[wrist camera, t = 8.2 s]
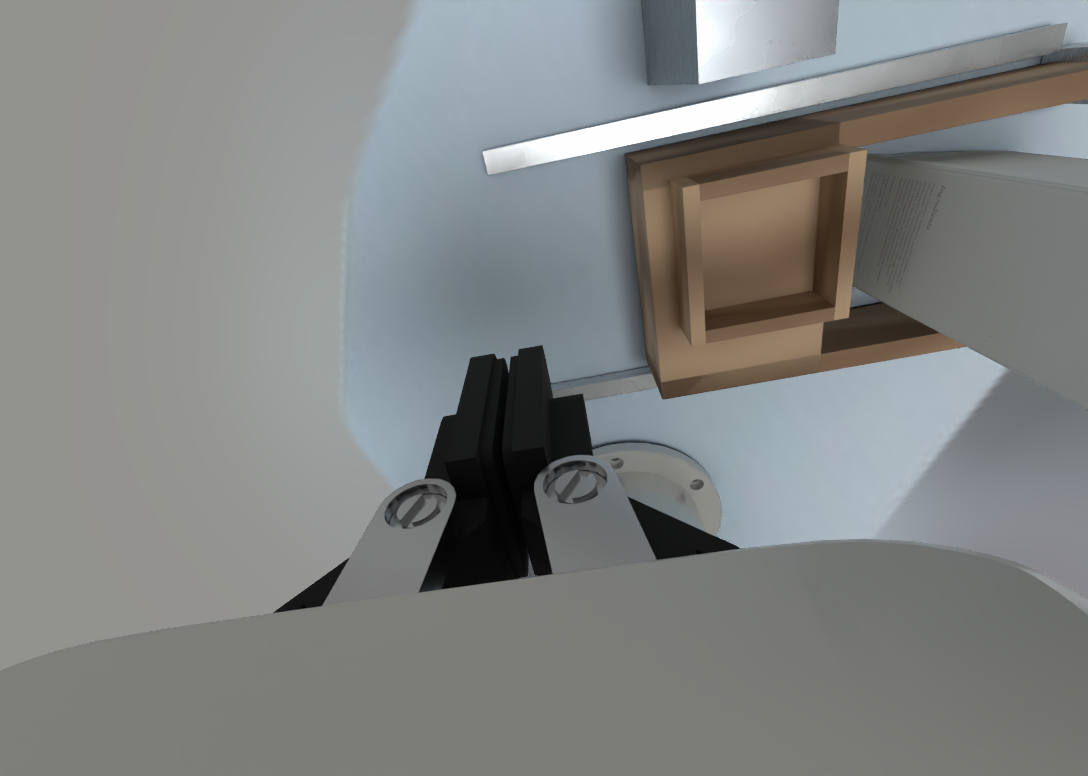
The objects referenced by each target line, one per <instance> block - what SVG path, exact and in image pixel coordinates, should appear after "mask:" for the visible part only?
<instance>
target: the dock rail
mask: <svg viewBox="0 0 1088 776" xmlns="http://www.w3.org/2000/svg"><path fill="white" fill-rule="evenodd" d="M1066 27H1067V23H1062V24H1053V25H1047V26H1043V27H1038V28H1034V29H1029V30H1025V31H1020V32H1016V33H1011V34H1007V35H1002V36H998V37H993V38H989V39H984V40H979V41H975V42H970V43H966V44H961V45H957V46H952V47H948V48H943V49H939V50H934V51H930V52H925V53H921V54H916V55H911V56H907V57H902V58H898V59H893V60H889V61H884V62H880V63H875V64H871V65H866V66H862V67H857V68H853V69H848V70H843V71H839V72H834V73H830V74H825V75H821V76H816V77H812V78H807V79H803V80H798V81H794V82H789V83H785V84H780V85H775V86H771V87H766V88H762V89H757V90H753V91H748V92H744V93H739V94H735V95H730V96H726V97H721V98H717V99H712V100H707V101H703V102H698V103H694V104H689V105H685V106H680V107H676V108H671V109H667V110H662V111H658V112H653V113H649V114H644V115H639V116H635V117H630V118H626V119H621V120H617V121H612V122H608V123H603V124H599V125H594V126H590V127H585V128H581V129H576V130H571V131H567V132H562V133H558V134H553V135H549V136H544V137H540V138H535V139H531V140H526V141H522V142H517V143H513V144H508V145H503V146H499V147H494V148H490V149H485V150H483V156H484V160H485V165H486V169H487V173H488V175H492V174H497V173H501V172H506V171H510V170H515V169H520V168H524V167H529V166H534V165H538V164H543V163H547V162H552V161H557V160H561V159H566V158H571V157H575V156H580V155H584V154H589V153H594V152H598V151H603V150H608V149H612V148H617V147H621V146H626V145H631V144H635V143H640V142H645V141H649V140H654V139H658V138H663V137H668V136H672V135H677V134H682V133H686V132H691V131H695V130H700V129H705V128H709V127H714V126H719V125H723V124H728V123H732V122H737V121H742V120H746V119H751V118H756V117H760V116H765V115H769V114H774V113H779V112H783V111H788V110H793V109H797V108H802V107H806V106H811V105H816V104H820V103H825V102H830V101H834V100H839V99H843V98H848V97H853V96H857V95H862V94H866V93H871V92H876V91H880V90H885V89H890V88H894V87H899V86H903V85H908V84H913V83H917V82H922V81H927V80H931V79H936V78H940V77H945V76H950V75H954V74H959V73H964V72H968V71H973V70H977V69H982V68H987V67H991V66H996V65H1001V64H1005V63H1010V62H1014V61H1019V60H1024V59H1028V58H1033V57H1038V56H1042V55H1043V57H1042V61H1041V64H1044V63H1064V62H1086V61H1088V42H1087V43H1074V44H1070V45H1065V46H1062V43H1063V39H1064V35H1065V31H1066ZM1066 104H1088V99H1085V100H1080V101H1076V102H1071V103H1066ZM551 388H552V393H553V398H558V397H564V396H570V395H576V394H582V393H583V397H584V401H585V400H591V399H597V398H602V397H608V396H614V395H619V394H625V393H631V392H636V391H642V390H648V389H653V388H658V387H657V385H656V382H655V380H654V377H653V375H652V373H651V370H650V368H649V367H644V368H639V369H633V370H628V371H622V372H616V373H611V374H605V375H600V376H594V377H589V378H583V379H578V380H572V381H566V382H561V383H555V384H551Z"/></svg>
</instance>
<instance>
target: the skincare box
mask: <svg viewBox="0 0 1088 776" xmlns="http://www.w3.org/2000/svg"><path fill="white" fill-rule="evenodd" d="M852 286H853V287H855V288H857V289H859V290H861V291H863V292H864V293H866V294H868V295H870V296H872V297H874V298H876V299H878V300H880V301H882V302H884V303H885V304H887V305H889V306H891V307H893V308H894V309H896V310H898V311H900V312H902V313H904V314H906V315H907V316H909V317H911V318H913V319H915V320H917V321H919V322H921V323H923V324H924V325H926V326H928V327H930V328H932V329H934V330H936V331H938V332H940V333H942V334H944V335H945V336H947V337H949V338H951V339H953V340H955V341H957V342H959V343H961V344H963V345H964V346H966V347H968V348H970V349H972V350H974V351H976V352H978V353H980V354H982V355H983V356H985V357H987V358H989V359H991V360H993V361H995V362H997V363H999V364H1001V365H1002V366H1004V367H1006V368H1008V369H1010V370H1012V371H1014V372H1016V373H1018V374H1019V375H1022V376H1023V377H1025V378H1027V379H1029V380H1031V381H1033V382H1035V383H1036V384H1038V385H1040V386H1042V387H1044V388H1046V389H1047V390H1049V391H1051V392H1053V393H1055V394H1057V395H1059V396H1061V397H1062V398H1064V399H1066V400H1068V401H1070V402H1072V403H1074V404H1075V405H1077V406H1080V407H1081V408H1083V409H1085V410H1087V411H1088V159H1081V158H1071V157H1061V156H1052V155H1042V154H1032V153H1023V152H1013V151H953V152H918V153H903V154H893V155H876V154H867V158H866V167H865V176H864V185H863V194H862V203H861V212H860V221H859V230H858V239H857V248H856V257H855V266H854V275H853V284H852Z"/></svg>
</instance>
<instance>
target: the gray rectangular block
mask: <svg viewBox="0 0 1088 776" xmlns="http://www.w3.org/2000/svg"><path fill="white" fill-rule="evenodd" d="M641 4H642V17H643V29H644V41H645V54H646V66H647V78H648V85H679V84H702V83H707V82H711V81H716V80H720V79H725V78H729V77H734V76H738V75H743V74H747V73H752V72H756V71H760V70H765V69H769V68H774V67H778V66H783V65H787V64H792V63H796V62H801V61H805V60H810V59H814V58H819V57H823V56H828V55H832V54H835V47H836V33H837V20H838V7H839V0H641Z"/></svg>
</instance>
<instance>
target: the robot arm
mask: <svg viewBox="0 0 1088 776" xmlns="http://www.w3.org/2000/svg"><path fill="white" fill-rule="evenodd" d="M721 517H722V508H721V502H720V498H719V495H718V493H717V490H716V488H715V486H714V483H713V482H712V480H711V479H710V477H709V476H708V474H707V472H706V471H705V470H704V469H703V468H702V467H701V466H700V465H699V464H698V463H697V462H696V461H694V460H692V459H691V458H689V457H688V456H686V455H684V454H683V453H681V452H678V451H676V450H673V449H670V448H668V447H665V446H660V445H654V444H649V443H620V444H613V445H607V446H603V447H600V448H596V449H593V450H592V444H591V438H590V432H589V426H588V420H587V414H586V408H585V402H584V397H583V393H582V394H576V395H570V396H564V397H558V398H553V393H552V388H551V383H550V378H549V374H548V369H547V364H546V359H545V354H544V350H543V346H542V345H541V346H535V347H529V348H524V349H519V352H518V356H514V357H511V360H510V370H509V372H508V368H507V364H506V361H505V359H504V358H502V359H497V358H496V356H495V354H489V355H484V356H478V357H472V358H471V359H470V362H469V366H468V370H467V374H466V378H465V382H464V386H463V390H462V394H461V398H460V402H459V405H458V409H457V413H456V415H450V416H445V417H443V419H442V421H441V425H440V428H439V431H438V435H437V438H436V442H435V445H434V448H433V452H432V455H431V459H430V462H429V465H428V469H427V472H426V476H425V479H422V480H417V481H414V482H411V483H409V484H406V485H404V486H402V487H400V488H399V489H397V490H395V491H394V492H393V493H392V494H391V495H389V496H388V497H387V498H386V499H385V500H384V501H383V502H382V504H381V505H380V506H379V508H378V510H377V511H376V513H375V515H374V517H373V518H372V520H371V522H370V524H369V525H368V527H367V529H366V530H365V532H364V534H363V536H362V537H361V539H360V541H359V543H358V544H357V546H356V548H355V550H354V551H353V553H352V555H351V557H350V558H348V559H347V560H345V561H344V562H343V563H341V564H340V565H338V566H337V567H336V568H334V569H333V570H332V571H330V572H329V573H327V574H326V575H325V576H323V577H322V578H320V579H319V580H318V581H316V582H315V583H314V584H312V585H311V586H309V587H308V588H307V589H305V590H304V591H303V592H301V593H300V594H298V595H297V596H295V597H294V598H293V599H291V600H290V601H289V602H287V603H286V604H284V605H283V606H282V607H280V608H279V609H277V610H276V611H275V612H274V613H271V614H264V615H257V616H250V617H244V618H237V619H230V620H223V621H216V622H209V623H202V624H195V625H188V626H181V627H174V628H167V629H161V630H156V631H150V632H145V633H139V634H133V635H128V636H123V637H116V638H111V639H106V640H100V641H95V642H90V643H87V644H83V645H78V646H75V647H70V648H66V649H62V650H58V651H54V652H52V653H49V654H45V655H43V656H39V657H36V658H33V659H30V660H27V661H25V662H22V663H19V664H16V665H13V666H11V667H9V668H6V669H4V670H1V671H0V776H1088V599H1087V598H1086V597H1084V596H1082V595H1081V594H1079V593H1077V592H1076V591H1074V590H1072V589H1071V588H1069V587H1068V586H1066V585H1064V584H1062V583H1060V582H1059V581H1057V580H1055V579H1053V578H1051V577H1049V576H1047V575H1045V574H1044V573H1042V572H1039V571H1037V570H1035V569H1032V568H1029V567H1027V566H1024V565H1022V564H1019V563H1017V562H1014V561H1011V560H1007V559H1004V558H1000V557H996V556H993V555H989V554H985V553H980V552H976V551H972V550H967V549H963V548H957V547H949V546H942V545H935V544H928V543H922V542H914V541H900V540H879V539H846V540H820V541H811V542H801V543H791V544H782V545H772V546H762V547H753V548H743V549H740V548H739V547H737V546H735V545H733V544H731V543H729V542H727V541H724V540H722V539H720V538H718V537H716V536H717V534H718V531H719V528H720V525H721ZM529 557H530V560H531V564H532V567H533V571H534V574H535V575H538V576H535V577H528V578H521V577H527V576H528V559H529ZM519 578H521V579H519Z"/></svg>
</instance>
